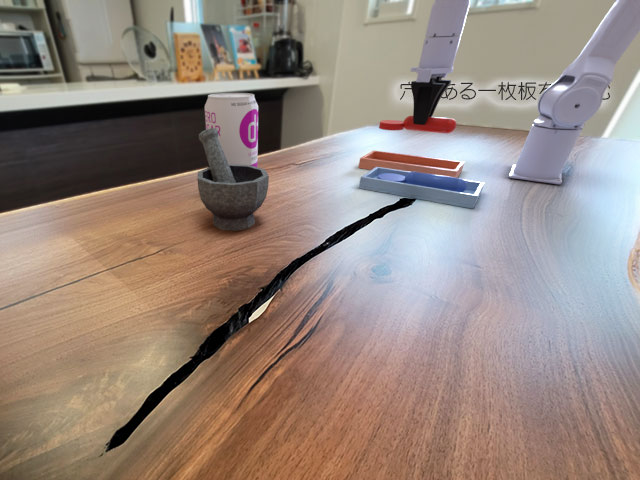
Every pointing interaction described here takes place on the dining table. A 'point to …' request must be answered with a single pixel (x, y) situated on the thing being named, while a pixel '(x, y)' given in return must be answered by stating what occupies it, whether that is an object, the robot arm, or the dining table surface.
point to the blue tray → (421, 189)
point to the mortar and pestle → (230, 187)
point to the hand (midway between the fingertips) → (421, 123)
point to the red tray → (411, 163)
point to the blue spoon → (427, 180)
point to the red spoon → (430, 126)
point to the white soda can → (235, 125)
